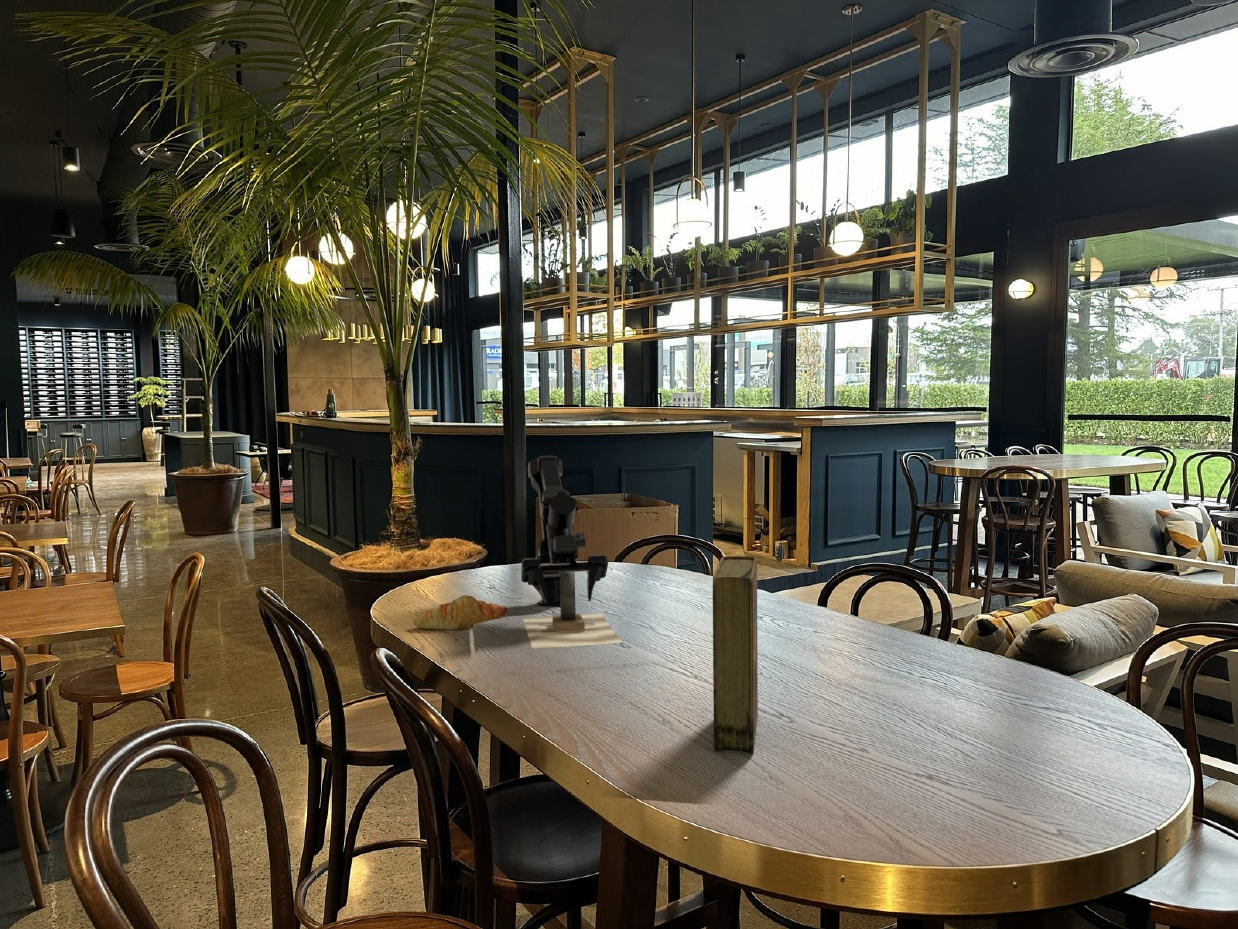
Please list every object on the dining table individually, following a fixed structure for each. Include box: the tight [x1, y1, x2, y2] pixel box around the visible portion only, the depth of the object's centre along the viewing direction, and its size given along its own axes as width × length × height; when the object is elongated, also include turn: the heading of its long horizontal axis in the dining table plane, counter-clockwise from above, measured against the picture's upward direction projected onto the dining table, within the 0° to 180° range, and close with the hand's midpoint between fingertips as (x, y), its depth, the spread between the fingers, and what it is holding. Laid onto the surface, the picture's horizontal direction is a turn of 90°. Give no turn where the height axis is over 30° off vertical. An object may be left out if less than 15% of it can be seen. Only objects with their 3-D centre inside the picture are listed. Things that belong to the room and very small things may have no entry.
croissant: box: [412, 594, 508, 631], centre depth 188 cm, size 21×10×8 cm, turn 113°
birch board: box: [522, 613, 623, 650], centre depth 179 cm, size 24×18×1 cm
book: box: [712, 555, 759, 754], centre depth 124 cm, size 16×6×25 cm, turn 168°
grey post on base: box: [551, 571, 585, 633], centre depth 180 cm, size 7×6×12 cm
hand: (568, 601), depth 179 cm, fingers open, 9 cm apart
